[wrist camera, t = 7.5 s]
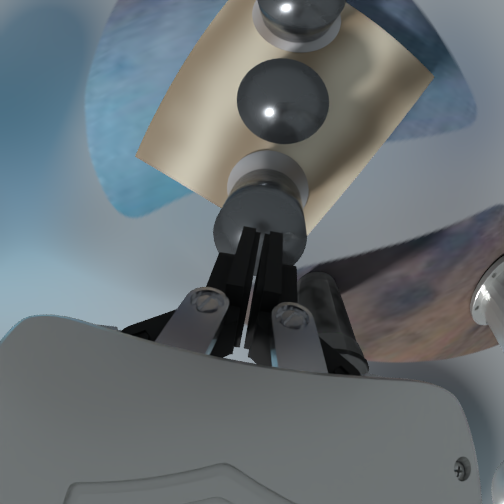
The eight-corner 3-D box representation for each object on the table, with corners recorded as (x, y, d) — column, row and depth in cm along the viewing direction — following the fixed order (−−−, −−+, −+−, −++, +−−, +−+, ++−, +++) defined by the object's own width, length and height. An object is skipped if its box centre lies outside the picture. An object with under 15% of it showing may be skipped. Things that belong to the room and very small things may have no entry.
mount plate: (418, 77, 17) (435, 76, 15) (291, 236, 27) (292, 253, 24) (266, -26, 14) (264, -41, 11) (149, 149, 24) (134, 157, 21)
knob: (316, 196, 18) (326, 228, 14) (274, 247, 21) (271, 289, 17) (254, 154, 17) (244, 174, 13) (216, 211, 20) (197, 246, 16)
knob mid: (331, 94, 17) (346, 93, 13) (292, 146, 19) (294, 161, 15) (272, 56, 16) (269, 42, 12) (234, 110, 18) (219, 113, 14)
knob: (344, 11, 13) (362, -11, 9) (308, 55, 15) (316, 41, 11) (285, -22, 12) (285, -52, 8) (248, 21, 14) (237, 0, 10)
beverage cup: (269, 280, 30) (249, 471, 13) (329, 248, 27) (365, 453, 10) (303, 321, 33) (304, 487, 16) (358, 295, 30) (393, 468, 13)
